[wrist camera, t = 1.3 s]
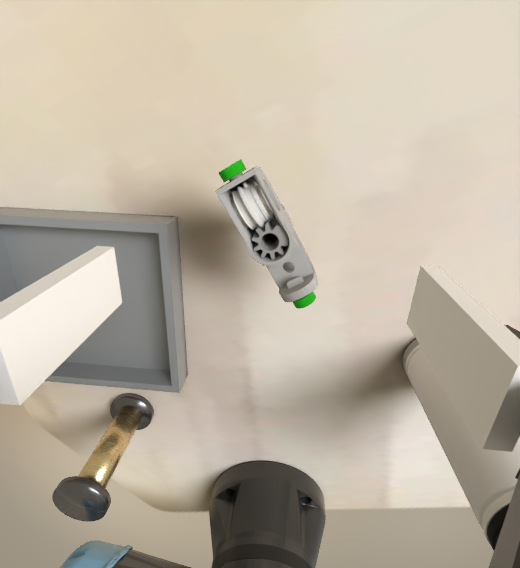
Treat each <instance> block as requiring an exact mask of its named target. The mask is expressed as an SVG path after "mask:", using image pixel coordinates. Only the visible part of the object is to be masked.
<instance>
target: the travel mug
mask: <svg viewBox="0 0 520 568" xmlns="http://www.w3.org/2000/svg"><path fill="white" fill-rule="evenodd" d="M402 360H403V367H404V370H405V372H406V374H407V376H408V378H409V380H410V382H411V384H412V386H413V388H414V390H415V392H416V394H417V397H418V399H419V401H420V403H421V405H422V407H423V409H424V411H425V413H426V415H427V417H428V419H429V421H430V423H431V425H432V427H433V429H434V431H435V433H436V436H437V438H438V440H439V442H440V444H441V446H442V448H443V450H444V452H445V454H446V456H447V458H448V460H449V462H450V464H451V466H452V468H453V470H454V472H455V474H456V477H457V479H458V481H459V483H460V485H461V487H462V489H463V491H464V493H465V495H466V497H467V499H468V501H469V503H470V505H471V507H472V509H473V511H474V513H475V516H476V518H477V520H478V522H479V524H480V525H481V527H482V529H483V531H484V534H485V536H486V538H487V540H488V541H489V543H490V545H491V546H492V548H493V550H495V547H496V544H497V541H498V538H499V535H500V532H501V529H502V526H503V523H504V520H505V517H506V514H507V511H508V508H509V505H510V502H511V499H512V496H513V493H514V490H515V487H516V484H517V481H518V479H516V478H515V477H516V475H517V473H518V471H519V469H520V437H519V439H518V441H517V443H516V445H515V447H514V449H513V451H512V452H509V451H498V450H487V449H482V447H481V446H480V444H479V442H478V441H477V439H476V437H475V436H474V434H473V432H472V431H471V429H470V427H469V426H468V424H467V422H466V421H465V419H464V417H463V416H462V414H461V412H460V411H459V409H458V407H457V406H456V404H455V402H454V401H453V399H452V398H451V396H450V394H449V393H448V391H447V389H446V388H445V386H444V384H443V383H442V381H441V379H440V378H439V376H438V374H437V373H436V371H435V369H434V368H433V366H432V364H431V363H430V361H429V359H428V358H427V356H426V354H425V353H424V351H423V349H422V348H421V346H420V344H419V343H418V341H417V339H416V340H414V341H413V342H412V343H411V344H410V345H409V346H408V347H407V349H406V350H405V352H404V355H403V359H402Z"/></svg>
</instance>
